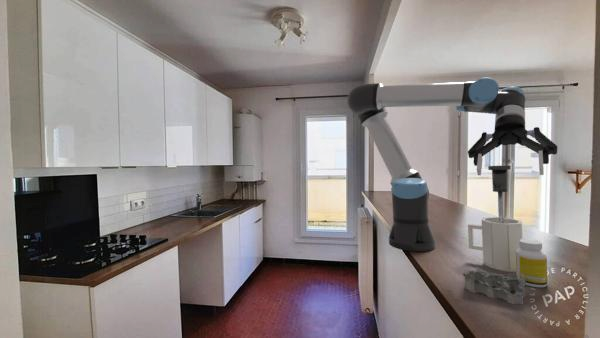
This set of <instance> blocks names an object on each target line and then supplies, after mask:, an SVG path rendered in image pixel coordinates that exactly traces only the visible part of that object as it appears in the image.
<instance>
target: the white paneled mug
mask: <svg viewBox="0 0 600 338" xmlns="http://www.w3.org/2000/svg"><path fill="white" fill-rule="evenodd" d="M503 218H504V223H499V216H492V217H490V216H489V217H483V218H482V219H481V224H476V223H475V224H473V223H468V224H467V236H468V238H467V239H468V241H467V242H468V249H470V250H477V251H481V252H482V261H483V263H484V265H485V266H486V267H488V268H491V269H493V270H496V271H501V272H507V273H516V250H517V249H519V248H521V247H520V246H519V240H521V239H524V238H523V221H522V220H519V219H515V218H510V217H503ZM474 230H480V231H481V238H482V241H481V243H482V245H480V244H475V243H474Z"/></svg>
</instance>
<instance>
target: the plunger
mask: <svg viewBox="0 0 600 338" xmlns="http://www.w3.org/2000/svg"><path fill="white" fill-rule="evenodd" d="M511 169H512V168H511V165H488V171H491V179H492V181H491V182H492V192H495V193H497V204H498V217H499V223H504V218H505V217H504V196H503V193H507V192H508V188H509V187H508V170H509V171H510V170H511Z"/></svg>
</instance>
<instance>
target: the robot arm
mask: <svg viewBox="0 0 600 338" xmlns="http://www.w3.org/2000/svg"><path fill="white" fill-rule="evenodd" d="M346 99H347V100H346V101H347V105H348V108H349V109H350V110H351V112H353V113H354V114H355V115H356V116H357V118H358V120H359V122H360V124H361V126H362V127H364V128H366V129H367V130H368V132H369V134H370V136H371V138H372V140H373V142H374V145H375V146H376V149H377V150H378V152H379V155H380V157H381V158H382V160H383V162H384V165H385V167H386V168H387V170H388V173H389V174H390V177H391V180H390V185H391V189H390V191H391V199H392V202H391V203H392V225H391V229H390V231H389V232H390V233H389V236H388V244H389V245H390V246H391V247H392V248H395V249H398V250H402V251H407V252H408V251H409V252H428V251H432V250H434V249H436V239H435V237H434V233H433V231H432V229H431V226H430V224H429V223H430V219H429V197H430V191H429V190H430V189H429V187H428V183H427V181H426V180H425V179H423V178H422V176H421V174H420V172H419V171H418V170H415V169H413V168H412V166H411V164H410V162H409V160H408V158H407V156H406V154H405V152H404V151H403V148H402V146H401V145H400V143H399V140H398V138H397V136H396V135H395V133H394V131H393V129H392V127H391V125H390V123H389V121H388V119H387V116H388V111H387V109H386V108H397V107H398V108H401V107H402V108H405V107H408V108H409V107H411V108H412V107H455V109H456V111H458V112H465V113H479V114H490V115H492V114H493V115H495V119H494V120H495V121H494V129H493V130H494V132H493V133H487V132H486V131H483V132H482V133H481V136H480V137H479V139H478V140H477V141H475V143H474V144H473V145H472V146H471V147H470V148H469V149H468V151H467V155H468V158H469V159H473V165H474V166H475V167H476V173H477V176H482V169H483V168H482V167H483V157H484V156H485V155H487V154H488V153H490V152H491V151H492V150H494V149H495V148H499V147H500V146H508V145H511V146H513V145H514V146H515V145H517V144H519V146H522V147H526V148H527V149H530V151H532V152H535V153H536V154H538V166H539V167H538V168H539V172H538V173H539V176H544V171H545V170H544V165H548V164H549V163H550V155H557V154H558V144H555V143H554V142H553V141H552V140H551V139H549V138H548V136H546V135H545V134H544V133H542V132H541V129H540V127H539V126H537V127H534V128H533V129H530V130H528V129H526V111H525V110H526V109H525V108H526V96H525V92H524V90H523V89H522V88H521V87H518V86H515V85H512V86H511V85H510V86H507V87H504V88H502V89H500V86H499V84H498V82H497V81H496V80H495V79H494V78H491V77H481V78H478V79H476V80H475V81H465V82H464V81H463V82H462V81H461V82H460V81H459V82H457V81H456V82H440V83H439V82H438V83H418V84H414V83H413V84H398V85H397V84H394V85H383V83H380V82H377V83H375V82H374V83H361V84H358V85H356V86H354V87H353V88H352V89H351V90H350V91H349V93H348V95H347V98H346ZM528 136H530V137H532V138H533V139H535V140H533V139H531V138H529V137H528Z"/></svg>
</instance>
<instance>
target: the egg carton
mask: <svg viewBox="0 0 600 338" xmlns="http://www.w3.org/2000/svg"><path fill="white" fill-rule="evenodd" d="M462 276H463V278H464V289H466V290H468V291H469V292H470V293H474V294H476V293H479V294H480V293H481V294H484V295H486V296H487V297H488V298H490V299H491V298H492V299H496V297H497V299H498V297H499V299H502V298H503V299H502V300H504V301H506V300H507V301H506V302H507V303H509V304H512V305H515V304H521V305H523V303H524V298H525V297H526V291H525V290H526V289H525V287H526V285H525V278H516V277H512V276H510V275H508V276H505V275H504V274H502V273H495V272H489V271H486V270H484V269H482V268H475V269H470V270H469V271H468V272H464V273H463V274H462ZM494 286H495V287H494ZM493 287H494V288H493ZM512 291H514V294H513V293H511V292H512Z"/></svg>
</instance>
